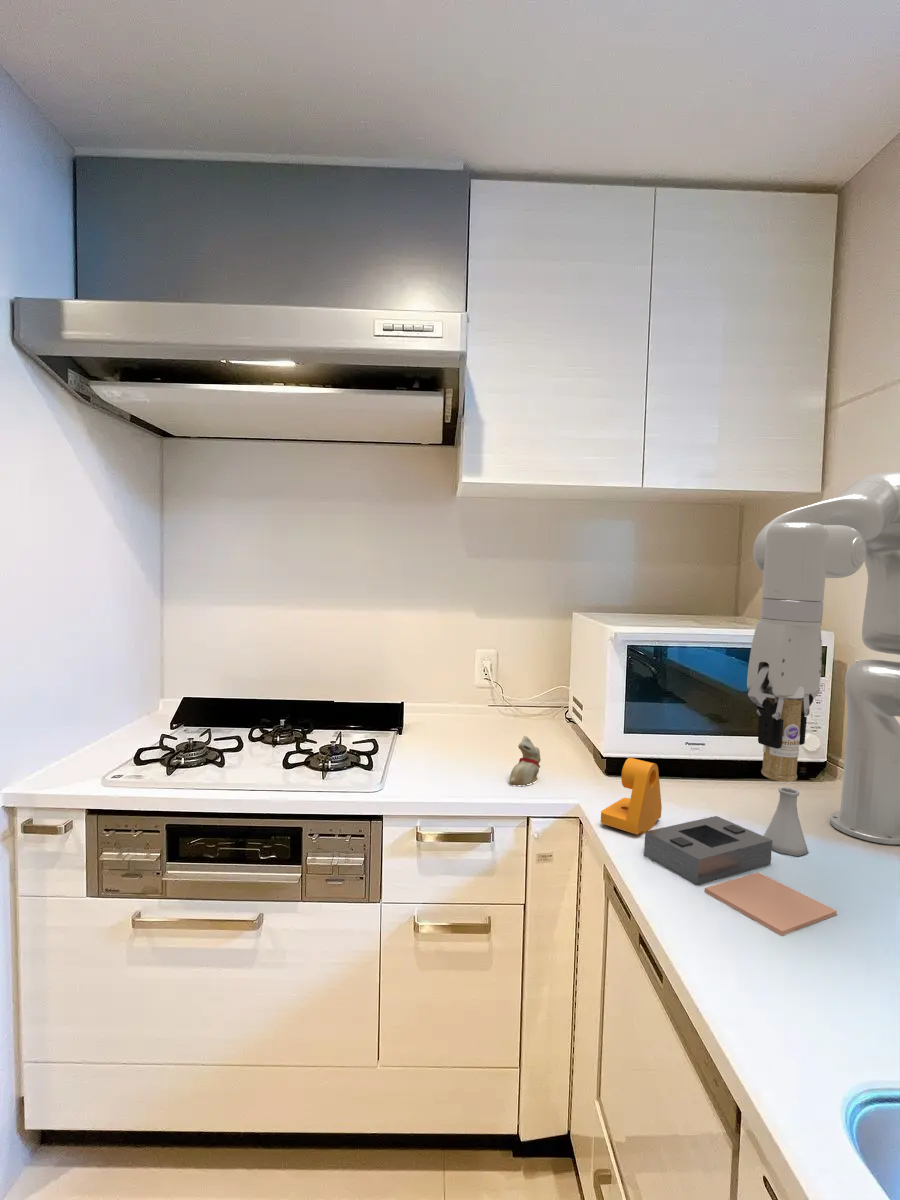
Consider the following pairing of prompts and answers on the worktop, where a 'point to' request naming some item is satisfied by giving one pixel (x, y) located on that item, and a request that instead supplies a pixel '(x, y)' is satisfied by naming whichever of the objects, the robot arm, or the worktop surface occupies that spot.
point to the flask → (787, 825)
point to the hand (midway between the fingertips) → (781, 742)
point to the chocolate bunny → (526, 764)
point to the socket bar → (707, 849)
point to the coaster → (770, 903)
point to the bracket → (636, 799)
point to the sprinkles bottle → (785, 741)
